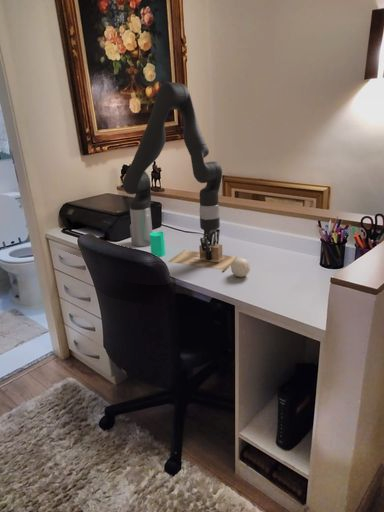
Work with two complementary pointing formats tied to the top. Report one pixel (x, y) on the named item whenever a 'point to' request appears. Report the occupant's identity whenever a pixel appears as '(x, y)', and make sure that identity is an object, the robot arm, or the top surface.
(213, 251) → the block
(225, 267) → the board
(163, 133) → the robot arm
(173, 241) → the top surface
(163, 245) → the candle
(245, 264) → the baseball
